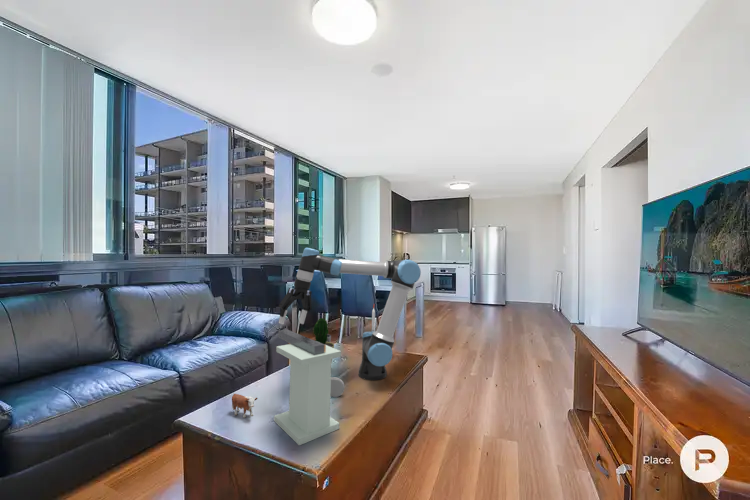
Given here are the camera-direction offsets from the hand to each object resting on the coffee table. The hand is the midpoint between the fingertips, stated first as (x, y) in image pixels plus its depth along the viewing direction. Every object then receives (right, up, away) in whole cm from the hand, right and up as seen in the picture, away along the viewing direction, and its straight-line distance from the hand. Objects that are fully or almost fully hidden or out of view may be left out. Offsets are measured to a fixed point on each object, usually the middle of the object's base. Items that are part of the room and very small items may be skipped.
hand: (291, 323), depth 144 cm
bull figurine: (-12, -30, -25) cm, 41 cm away
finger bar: (+10, -2, -24) cm, 26 cm away
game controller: (+16, -32, -6) cm, 36 cm away
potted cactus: (+9, -32, +22) cm, 40 cm away
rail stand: (+14, -30, -31) cm, 45 cm away
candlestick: (+38, -34, +46) cm, 68 cm away
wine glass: (+8, -33, +43) cm, 54 cm away
